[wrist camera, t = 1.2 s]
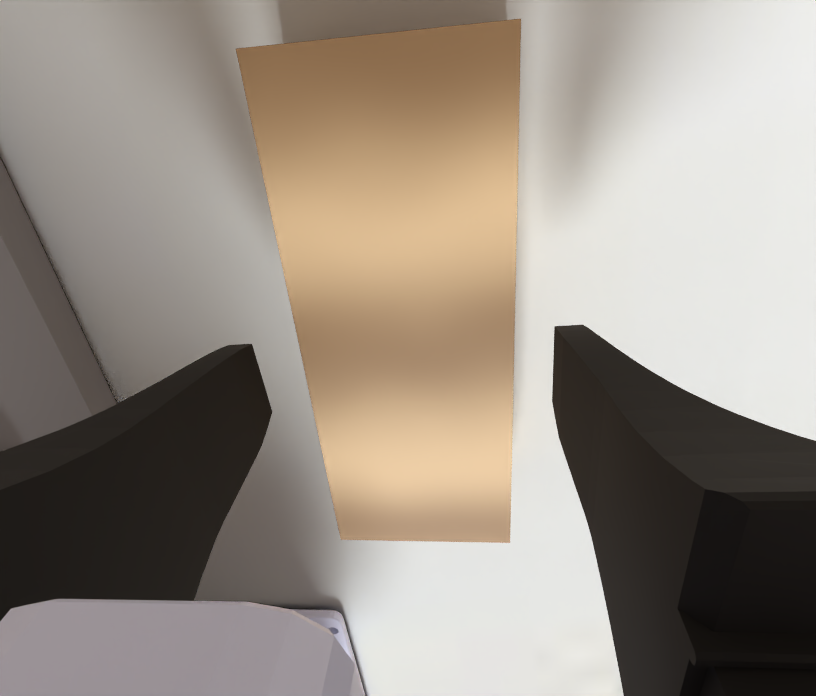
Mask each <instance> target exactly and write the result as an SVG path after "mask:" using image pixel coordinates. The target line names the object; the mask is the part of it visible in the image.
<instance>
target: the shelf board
mask: <svg viewBox="0 0 816 696" xmlns="http://www.w3.org/2000/svg"><path fill="white" fill-rule="evenodd" d="M520 39H521V19H513V20H504V21H494V22H485V23H475V24H466V25H456V26H447V27H437V28H428V29H418V30H409V31H399V32H390V33H380V34H371V35H361V36H352V37H342V38H333V39H323V40H314V41H304V42H295V43H285V44H276V45H266V46H257V47H247V48H238V49H236V52H237V57H238V62H239V66H240V71H241V76H242V80H243V85H244V90H245V94H246V99H247V104H248V108H249V113H250V118H251V122H252V127H253V132H254V136H255V141H256V146H257V150H258V155H259V160H260V164H261V169H262V174H263V178H264V183H265V188H266V192H267V197H268V202H269V206H270V211H271V216H272V220H273V225H274V230H275V234H276V239H277V244H278V248H279V253H280V258H281V262H282V267H283V272H284V276H285V281H286V286H287V290H288V295H289V300H290V304H291V309H292V314H293V318H294V323H295V328H296V332H297V337H298V342H299V346H300V351H301V356H302V361H303V365H304V370H305V375H306V379H307V384H308V389H309V393H310V398H311V403H312V407H313V412H314V417H315V421H316V426H317V431H318V435H319V440H320V445H321V449H322V454H323V459H324V463H325V468H326V473H327V477H328V482H329V487H330V491H331V496H332V501H333V505H334V510H335V515H336V519H337V524H338V529H339V533H340V538H341V540H388V541H444V542H500V543H510V517H511V469H512V421H513V373H514V326H515V278H516V230H517V182H518V135H519V87H520Z"/></svg>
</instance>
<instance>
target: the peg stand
mask: <svg viewBox="0 0 816 696" xmlns="http://www.w3.org/2000/svg"><path fill="white" fill-rule="evenodd" d="M116 404H117V403H116V401H115V399H114V397H113V394H112V392H111V390H110V388H109V386H108V384H107V382H106V380H105V378H104V375H103V373H102V371H101V369H100V367H99V365H98V363H97V361H96V358H95V356H94V354H93V352H92V350H91V348H90V346H89V344H88V342H87V339H86V337H85V335H84V333H83V331H82V329H81V327H80V325H79V323H78V320H77V318H76V316H75V314H74V312H73V310H72V308H71V306H70V304H69V301H68V299H67V297H66V295H65V293H64V291H63V289H62V287H61V285H60V282H59V280H58V278H57V276H56V274H55V272H54V270H53V268H52V266H51V263H50V261H49V259H48V257H47V255H46V253H45V251H44V249H43V247H42V244H41V242H40V240H39V238H38V236H37V234H36V232H35V230H34V228H33V225H32V223H31V221H30V219H29V217H28V215H27V213H26V211H25V209H24V206H23V204H22V202H21V200H20V198H19V196H18V194H17V192H16V190H15V187H14V185H13V183H12V181H11V179H10V177H9V175H8V173H7V171H6V168H5V166H4V164H3V162H2V160H1V158H0V451H3V450H6V449H9V448H12V447H15V446H17V445H20V444H23V443H26V442H28V441H31V440H34V439H36V438H39V437H42V436H44V435H47V434H50V433H52V432H55V431H58V430H60V429H63V428H65V427H68V426H70V425H72V424H75V423H77V422H79V421H82V420H84V419H86V418H88V417H91V416H93V415H95V414H97V413H99V412H102V411H104V410H106V409H108V408H110V407H112V406H114V405H116Z"/></svg>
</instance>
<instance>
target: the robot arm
mask: <svg viewBox="0 0 816 696" xmlns="http://www.w3.org/2000/svg"><path fill="white" fill-rule="evenodd" d="M552 402H553V408H554V413H555V419H556V424H557V429H558V434H559V439H560V442H561V445H562V448H563V451H564V454H565V457H566V460H567V463H568V466H569V469H570V472H571V475H572V478H573V481H574V484H575V486H576V489H577V492H578V495H579V498H580V501H581V504H582V507H583V510H584V513H585V516H586V519H587V522H588V526H589V529H590V533H591V536H592V541H593V545H594V550H595V554H596V559H597V563H598V568H599V572H600V577H601V581H602V586H603V591H604V596H605V601H606V606H607V611H608V615H609V620H610V625H611V630H612V635H613V640H614V646H615V651H616V656H617V661H618V667H619V672H620V677H621V682H622V688H623V693H624V696H816V441H814V440H810V439H807V438H804V437H800V436H797V435H794V434H791V433H788V432H785V431H782V430H779V429H776V428H773V427H770V426H767V425H765V424H762V423H759V422H757V421H754V420H751V419H749V418H746V417H744V416H741V415H738V414H736V413H733V412H731V411H728V410H726V409H724V408H721V407H719V406H717V405H715V404H712V403H710V402H708V401H706V400H704V399H702V398H700V397H698V396H696V395H693V394H691V393H689V392H687V391H685V390H683V389H681V388H680V387H678V386H676V385H674V384H672V383H670V382H669V381H667V380H665V379H664V378H662V377H660V376H658V375H657V374H655V373H653V372H652V371H650V370H648V369H647V368H645V367H644V366H642V365H640V364H639V363H637V362H636V361H634V360H633V359H631V358H630V357H628V356H627V355H625V354H624V353H622V352H621V351H620V350H618V349H617V348H615V347H614V346H612V345H611V344H610V343H608V342H607V341H606V340H604V339H603V338H601V337H600V336H599V335H597V334H596V333H594V332H593V331H592V330H590V329H589V328H587V327H586V326H584V325H571V326H555V332H554V364H553V396H552ZM271 414H272V410H271V406H270V403H269V400H268V396H267V393H266V390H265V386H264V383H263V380H262V376H261V373H260V370H259V366H258V363H257V360H256V356H255V353H254V350H253V346H252V344H242V345H228V346H225V347H223V348H220V349H218V350H216V351H214V352H212V353H210V354H208V355H206V356H204V357H202V358H200V359H199V360H197V361H195V362H193V363H191V364H190V365H188V366H186V367H184V368H183V369H181V370H179V371H177V372H175V373H174V374H172V375H170V376H168V377H167V378H165V379H163V380H161V381H160V382H158V383H156V384H154V385H152V386H150V387H148V388H146V389H145V390H143V391H141V392H139V393H137V394H135V395H133V396H131V397H129V398H128V399H126V400H124V401H122V402H120V403H118V404H116V405H114V406H112V407H110V408H108V409H106V410H104V411H102V412H99V413H97V414H95V415H93V416H91V417H88V418H86V419H84V420H82V421H79V422H77V423H75V424H72V425H70V426H68V427H65V428H63V429H60V430H58V431H55V432H52V433H50V434H47V435H44V436H42V437H39V438H36V439H34V440H31V441H28V442H26V443H23V444H20V445H17V446H15V447H12V448H9V449H6V450H3V451H0V696H365V693H364V689H363V686H362V682H361V679H360V675H359V672H358V668H357V665H356V661H355V658H354V654H353V650H352V647H351V643H350V640H349V636H348V633H347V629H346V626H345V622H344V618H343V616H342V614H341V613H339V612H338V611H335V610H300V609H285V608H280V607H274V606H269V605H263V604H258V603H252V602H233V601H194V598H195V595H196V592H197V589H198V586H199V583H200V580H201V577H202V574H203V572H204V569H205V566H206V564H207V561H208V558H209V556H210V553H211V550H212V548H213V545H214V542H215V540H216V537H217V535H218V533H219V531H220V528H221V526H222V524H223V522H224V520H225V518H226V516H227V514H228V512H229V510H230V508H231V506H232V504H233V502H234V500H235V498H236V496H237V494H238V492H239V490H240V488H241V486H242V484H243V482H244V480H245V478H246V476H247V474H248V473H249V470H250V468H251V466H252V464H253V462H254V460H255V458H256V456H257V454H258V452H259V450H260V448H261V446H262V443H263V440H264V437H265V434H266V431H267V428H268V424H269V421H270V418H271Z"/></svg>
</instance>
